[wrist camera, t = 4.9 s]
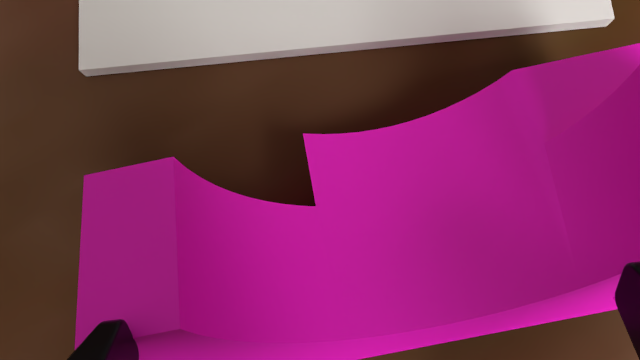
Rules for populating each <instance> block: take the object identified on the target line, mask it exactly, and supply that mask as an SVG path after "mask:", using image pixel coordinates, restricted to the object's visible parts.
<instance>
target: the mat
mask: <svg viewBox="0 0 640 360" xmlns="http://www.w3.org/2000/svg"><path fill="white" fill-rule="evenodd" d="M614 19H615V18H614V13H613V9H612V4H611V0H79V71H80V72H81V73H83V74H84V75H85V76H96V75H107V74H117V73H128V72H138V71H148V70H159V69H169V68H180V67H190V66H200V65H211V64H221V63H231V62H242V61H252V60H263V59H273V58H283V57H294V56H304V55H315V54H325V53H335V52H346V51H356V50H367V49H377V48H387V47H398V46H408V45H419V44H429V43H439V42H450V41H460V40H470V39H481V38H491V37H502V36H512V35H522V34H533V33H543V32H554V31H564V30H574V29H585V28H595V27H606V26H607V25H608V24H609V23H610V22H612V21H613V20H614Z"/></svg>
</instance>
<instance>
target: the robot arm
mask: <svg viewBox="0 0 640 360" xmlns="http://www.w3.org/2000/svg"><path fill="white" fill-rule="evenodd" d="M615 302H616V306H617V308H618V311H619V313H620V315H621V318H622V320H623V322H624V325H625V327H626V329H627V332H628V334H629V336H630V339H631V341H632V343H633V346H634V348H635V350H636V353H637V355H638V357H639V360H640V261H639V262H630V263H627V264H626V265H625V266H624V268H623V271H622V274H621V276H620V279H619V282H618V285H617V288H616V291H615ZM67 360H139V350H138V346H137V343H136V341H135V339H133V335H132V333H131V331H130V329H129V327H128V324H127V323H126V321H124V320H123V319H116V320H107V321H103V322H101V323H99V324H98V325H97V326H96V327H95V328H94V329H93V331H92V332H91V333H90V334H89V335H88V336H87V337H86V339H85V340H84V341H83V342H82V343H81V344H80V345H79V346H78V348H77V349H76V350H75V351H74V352H73V353H72V354H71V356H70V357H69V358H68V359H67Z"/></svg>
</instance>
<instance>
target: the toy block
mask: <svg viewBox="0 0 640 360" xmlns="http://www.w3.org/2000/svg"><path fill="white" fill-rule="evenodd" d="M303 137H304V143H305V148H306V154H307V160H308V165H309V171H310V176H311V182H312V188H313V193H314V199H315V204H316V206H299V205H289V204H281V203H275V202H268V201H263V200H259V199H255V198H250V197H247V196H243V195H240V194H237V193H234V192H231V191H229V190H226V189H224V188H221V187H219V186H216V185H214V184H212V183H211V182H209V181H207V180H205V179H203V178H201V177H199V176H198V175H196V174H195V173H193V172H192V171H190V170H189V169H187V168H186V167H185V166H184V165H183V164H181V163H180V162H179V161H178V160H177V159H176V158H174V157H169V158H164V159H160V160H155V161H150V162H145V163H141V164H136V165H131V166H126V167H122V168H117V169H112V170H107V171H103V172H98V173H93V174H88V175H84V186H83V204H82V223H81V241H80V260H79V278H78V297H77V316H76V334H75V350H76V349H77V348H78V346H79V345H80V344H81V343H82V342H83V341H84V340H85V339H86V337H87V336H88V335H89V334H90V333H91V332H92V331H93V329H94V328H95V327H96V326H97V325H98V324H99V323H101V322H103V321H107V320H116V319H123V320H124V321H126V323H127V324H128V327H129V329H130V331H131V333H132V335H133V339H135V341H136V343H137V346H138V350H139V360H358V359H363V358H368V357H374V356H379V355H384V354H389V353H394V352H399V351H404V350H410V349H415V348H420V347H425V346H430V345H435V344H440V343H446V342H451V341H456V340H461V339H466V338H471V337H476V336H482V335H487V334H492V333H497V332H502V331H507V330H512V329H518V328H523V327H528V326H533V325H538V324H543V323H548V322H554V321H559V320H564V319H569V318H574V317H579V316H584V315H590V314H595V313H600V312H605V311H610V310H615V309H618V308H617V306H616V302H615V291H616V288H617V285H618V282H619V279H620V276H621V274H622V271H623V268H624V266H625V265H626V264H627V263H630V262H639V261H640V43H639V44H634V45H629V46H625V47H620V48H615V49H610V50H606V51H601V52H596V53H592V54H587V55H582V56H577V57H573V58H568V59H563V60H558V61H554V62H549V63H544V64H539V65H535V66H530V67H525V68H521V69H516V70H512V71H510V72H509V73H508V74H506V75H505V76H503V77H502V78H500V79H499V80H497V81H496V82H494V83H493V84H491V85H489V86H488V87H486V88H484V89H483V90H481V91H479V92H477V93H476V94H474V95H472V96H470V97H468V98H466V99H464V100H462V101H460V102H458V103H456V104H454V105H452V106H449V107H447V108H445V109H442V110H440V111H437V112H435V113H432V114H430V115H427V116H424V117H421V118H418V119H415V120H412V121H409V122H405V123H401V124H398V125H394V126H390V127H385V128H380V129H375V130H369V131H362V132H354V133H342V134H305V133H303Z"/></svg>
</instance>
